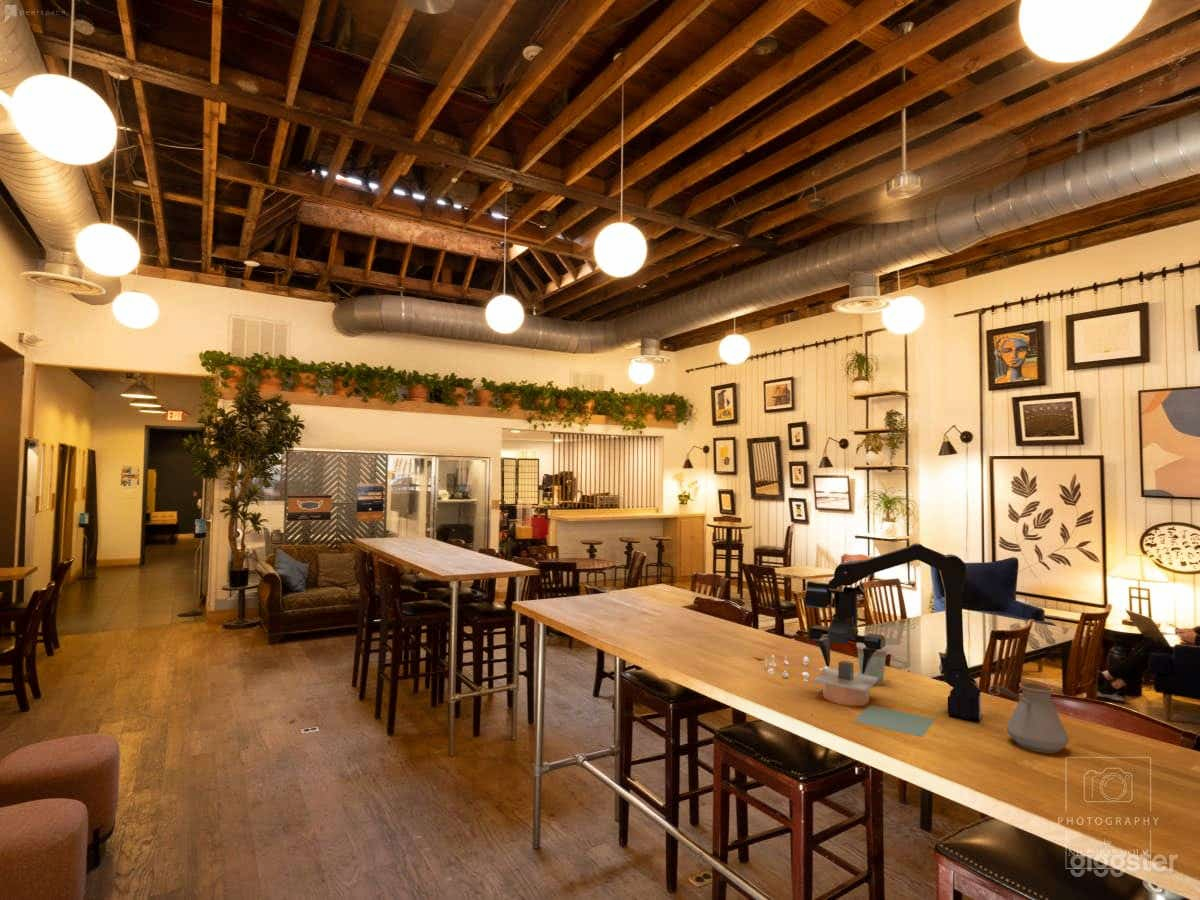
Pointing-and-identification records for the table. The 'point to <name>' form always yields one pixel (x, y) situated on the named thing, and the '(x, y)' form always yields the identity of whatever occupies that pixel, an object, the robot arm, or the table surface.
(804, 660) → the game piece set
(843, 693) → the pink round tub
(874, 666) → the coffee cup
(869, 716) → the mat
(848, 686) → the lid
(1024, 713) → the coffee pot
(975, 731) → the table surface
